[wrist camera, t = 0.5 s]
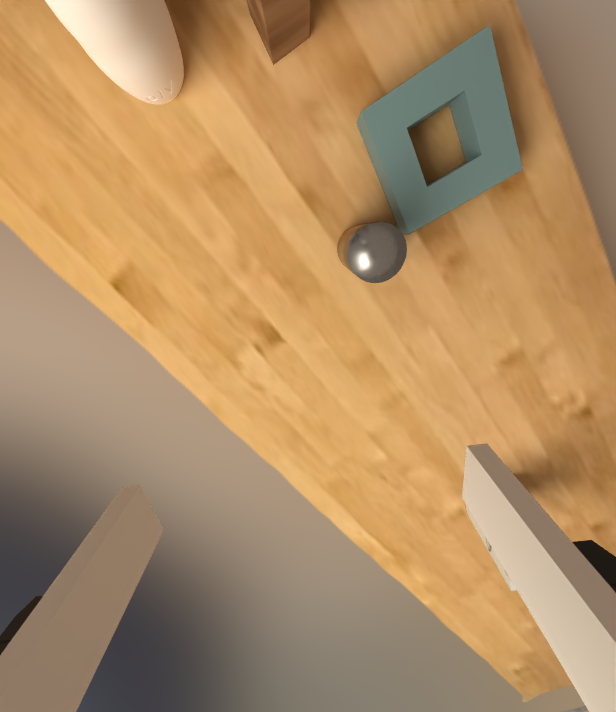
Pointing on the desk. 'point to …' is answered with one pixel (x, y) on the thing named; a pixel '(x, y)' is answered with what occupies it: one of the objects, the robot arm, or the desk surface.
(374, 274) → the round bit
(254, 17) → the square bit
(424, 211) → the socket block
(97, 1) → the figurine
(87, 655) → the robot arm
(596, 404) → the desk surface
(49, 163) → the desk surface
